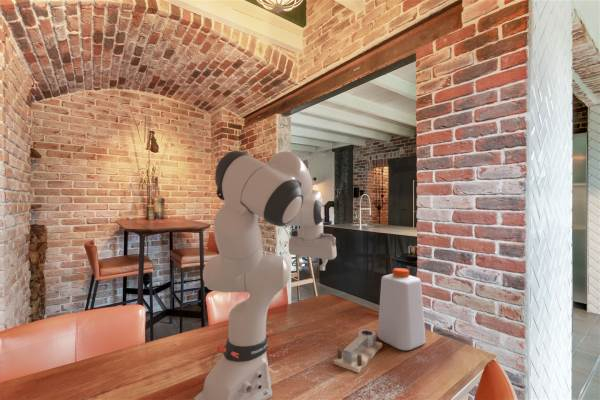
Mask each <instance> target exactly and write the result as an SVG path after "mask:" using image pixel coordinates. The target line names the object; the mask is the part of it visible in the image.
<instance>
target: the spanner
mask: <svg viewBox="0 0 600 400" xmlns="http://www.w3.org/2000/svg"><path fill="white" fill-rule="evenodd" d="M366 334H367V335H366ZM376 342H377V333H376V332H375V330H371V329H367V328H366V329H365V328H363V329H360V330H358V333H357V337H356V338H355V339H353V341H351V342H350V343H349V344H348V345H347V346H346V347H345V348H344V349H343V351H342V352H343V362H345V363H348V364H351V365H352V364H353V363H354V362H355V361H356V360H357V355H361V354H362V353H363V352H364V351H365V350H366V349H367V348H371V347H374V346H375V345H376Z"/></svg>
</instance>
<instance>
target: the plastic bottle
mask: <svg viewBox="0 0 600 400" xmlns="http://www.w3.org/2000/svg"><path fill="white" fill-rule="evenodd" d="M380 280H381V281H380V294H379V295H380V296H379V311H378V326H377V337H378V339H379V340H380V341H381V342H384V343H386V344H388V345H390V346H392V347H393V348H395V349H397V350H399V351H411V350H414V349H415V348H418V347H420V346H423V345H424V344H425V343H426V329H425V328H426V327H425V317H424V316H425V313H424V304H423V303H424V301H423V289H422V280H421V279H420V278H419V277H417V276H415V275H411V274H410V270H409V269H408V268H402V267H400V268H399V267H395V268H393V269H392V273H390V274H386V275H383V276H382V277H381V279H380Z"/></svg>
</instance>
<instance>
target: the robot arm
mask: <svg viewBox="0 0 600 400" xmlns="http://www.w3.org/2000/svg"><path fill="white" fill-rule="evenodd" d="M214 176H215V177H214V179H215V180H214V181H215V185H216V192H215V193H216V195H217V198H218V199H220V200H222V201H224V203H223V205H222V207H221V208H220V209H218V210H217V212H216V213H215V215H214V219H213V234H214V240H215V244H216V247H217V251H218V253H219V254H216V255H215V256H212V257H210V258H209V259H208V260H207V262H206V263H205V264H204V267H203V269H202V280H203V282H204V285H205V287H206V288H207V289H208V290H209V291H210V290H211V291H214V292H218V293H249V297H248V298H247V299H245V300H243V301H241V302H240V303H237V304H236V305H234V306H233V307H232V308H231V310H229V313H228V338H227V340H226V342H225V345H224V344H221V343H219V344H218V345H217V347H216V352H218V353H221V354H222V356H221V357H220V358H219V360H218V361H217V362H216V364H215V365H214V366H213V367H212V369H211V370H210V372H209V373H208V374H207V375H206V376H205V378H204V384H203V389H202V391H200V392H199V393H198V394H197V395H196V396H195V397H194V399H193V400H268V399H270V398H272V397H273V389H272V378H271V374H270V370H269V361H268V355H267V350H268V344H269V342H268V335H267V319H268V318H267V316H268V310H269V307H270V304H271V303H272V301H273V299H274V298H275V297H276V296H277V294H279V293H280V291H282V290H283V289H285V287H286V286H287V285H288V283H290V282H289V281H290V279H291V267H290V264H289V261H288V260H287V259H286V258H285V257H284V256H280V255H276V254H269V253H266V254H265V253H264V247H263V239H262V238H263V237H262V231H261V227H260V224H259V218H262V219H263V220H264V221H265V222H266V223H268V224H271V225H274V226H276V227H299V228H296V229H293V230H290V231H289V236H290V237H289V239H288V253H289V254H290V255H292V256H296V260H297V261H298V266H299V268H305V264H306V263H305V262H304V261H303V257H307V258H316V259H321V262H322V264H320V265H319V271H326V265H327V263H328V261H333V260H335V259H336V257H337V255H338V253H337V246H336V245H337V239H336V236H334V235H333V234H332V233H324V222H323V221H324V220H325V217H326V216H325V215H326V213H325V211H326V210H325V207H326V206H325V205H324V204H323V196H322V193H321V191H318V190H314V189H313V188H314V187H313V186H314V185H313V178H312V176H311V174H310V171H309V169H308V167H307V166H306V164H305V162H304V161H303V159H301V158H300V157H299V156H298V155H297V154H295V153H293V152H292V151H291V152H290V151H280V152H278V153H276V154H274V155H273V156H272V157H271V158H269V160H268V162H267V163H265V162H263V161H262V160H260V159H258V158H256V157H253V156H252V155H251V154H249V153H246V152H243V151H240V150H233V151H229V152H228V153H226V154H225V155H224V156H222V158H221V159H220V160H219V161H218V163H217V165H216V168H215V174H214Z"/></svg>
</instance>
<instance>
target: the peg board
mask: <svg viewBox="0 0 600 400" xmlns="http://www.w3.org/2000/svg"><path fill="white" fill-rule="evenodd" d="M366 335H367V334H366ZM382 347H383V343H382V342H379V341H376V345H375V346H374V347H371V348H367V349H366V350H365V351H364V352H363V353H362V354H361V355H357V360H356V361H355V362H354V363H353V364H352V365H351V364H348V363H345V362H343V351H342V348H341V347H338V348H337V352H336V353H337V354H336V355H337V357H336V358H335V359H333V365H337V366H339V367H341V368H344V369H347V370H350V371H351V372H352V371H353V372H354V373H358V374H359V373H360V372H361V371H362V370H363V369H364V367H366V366H367V364H368V363H369V362H370V361H371V360H372V358H373V357H374V356H375V355H376V354H377V353H378V352H379V350H380V349H381V348H382Z"/></svg>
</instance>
